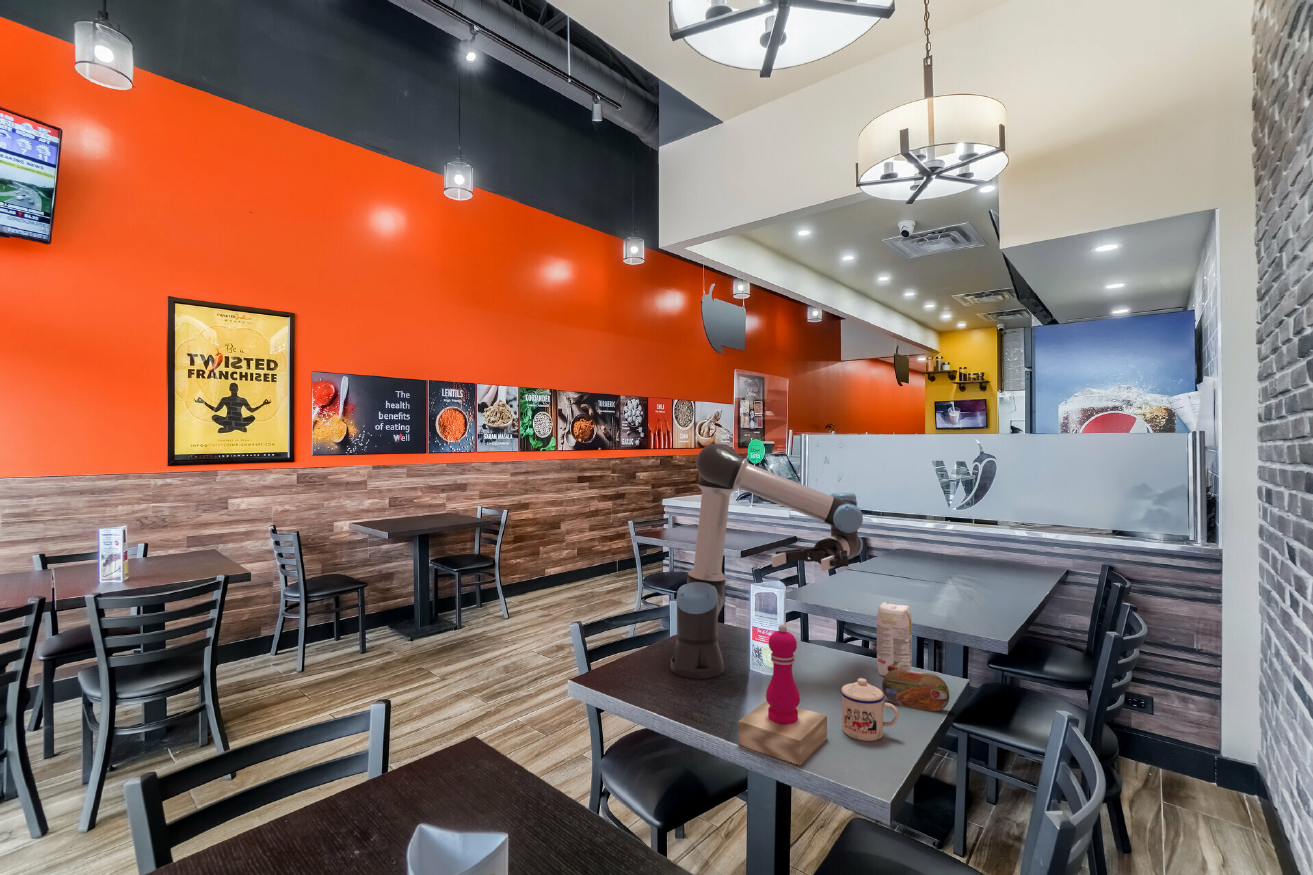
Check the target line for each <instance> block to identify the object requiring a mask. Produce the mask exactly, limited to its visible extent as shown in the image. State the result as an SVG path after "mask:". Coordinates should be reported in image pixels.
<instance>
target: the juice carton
mask: <svg viewBox="0 0 1313 875" xmlns="http://www.w3.org/2000/svg"><path fill="white" fill-rule="evenodd" d="M912 624H913V623H912V613H911V609H910V606H909V605H906V604H905V605H903V604H893V603H889V602H882V603H881V604H880V605H879V606H878V609H877V614H876V664H877V668H878V669H877V670H878V673H879V676H881V677H882V676H883V677H885V676H886V675H887V673H889V672H890V671H892V670H895V669H902V670H909V671H911V670H912V669H911V668H912V665H913V663H912V662H913V647H912V646H913V645H912V644H913V643H912V642H913V641H912V639H913V638H912V637H913V636H912Z"/></svg>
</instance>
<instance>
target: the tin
mask: <svg viewBox="0 0 1313 875" xmlns="http://www.w3.org/2000/svg"><path fill="white" fill-rule="evenodd" d="M883 677H884V678H883V680H882V683H881V686H882V687H881V688H882V693H883V695H884V697H886V699H887V700H888V701H890V702H891V704H893V705H895V706H898V707H899V706H900V707H905V708H910V709H917V710H922V711H927V712H940V711H942V710H943V709H945V708H946V707H947V705H949V701H950V690H949V688H948V685H947V683H946V681H944V680H943V678H941V677H940V676H938V675H937V674H934V673H927V672H923V671H916V670H915V671H914V670H910V671H909V670H902V669H895V670H892V671H890V672H889V673H887V675H886V676H883Z"/></svg>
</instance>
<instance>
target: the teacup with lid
mask: <svg viewBox="0 0 1313 875" xmlns="http://www.w3.org/2000/svg"><path fill="white" fill-rule="evenodd" d="M840 689H841V690H840V694H841V727H842V728H841V729H842V731H843V733H844V734H846V736H848V737H850V738H852V739H855V740H859V741H864V742H865V741H866V742H873V741H878V740H880V739H881V738H883V736H884V727H892V726H894V725H896V724H897V722H898V719H899V710H898V709H897V707H896V705H895V704H893V703H890V702H884V699H885V694H884V692H883V690H881V689H880V688H879V687H876V686H874V685H873V684H872V685H871V683H868V681H867V679H866V678H862V677H859V678H857V681H855V682H853V683H852V682H851V683H847V684H844V685H843V686H842V687H841V688H840ZM884 708H889V709H891V710H892V711H893V712H894V717H893V719H892V720H891V721H884Z"/></svg>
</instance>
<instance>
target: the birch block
mask: <svg viewBox="0 0 1313 875" xmlns="http://www.w3.org/2000/svg"><path fill="white" fill-rule="evenodd" d="M769 707H770V705H769V704H768V702H767V700H765V701H764V702H763V703H761V704H760V705H758V706H756V708H754V709H753V710H751V711H750V712H749V713H748V714H746V715H745V716H743V717H742V718H741V719H739V720H738V722H737V723H738V726H737V727H738V732H737V733H738V738H737V739H738V745H739V746H741V747H744V748H748V749H749V750H753V751H755V752H757V753H758V752H759V753H761V754H764V755H767V756H771V757H773V756H774V757H773V758H776V757H777V759H779V758H781V759H784V760H788V761H789V762H788V763H790V762H792V763H791V764H793V763H794V764H793V765H796V764H798V765H797V766H799V765H801V764H802V765H803V764H804V763H805V762H806V761H807V760H808V759H809V758H810V757H811V756H812V755H813V754H814V753H815V752H816V750H818V748H820V746H822V745H823V744H824V743H825V741H827V740H828V715H826V714H823V713H819V712H817V711H813V710H808V709H806V708H803V707H802V708H801V707H799V706H797V707H796V709H797V710H798V720H797V721H796V722H795V723H792V724H780V723H776V722H773V721H772V720H770V719H769V717H768V708H769ZM781 759H780V760H781ZM784 760H783V761H784ZM805 760H806V761H805ZM803 762H804V763H803ZM802 765H801V766H802Z"/></svg>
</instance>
